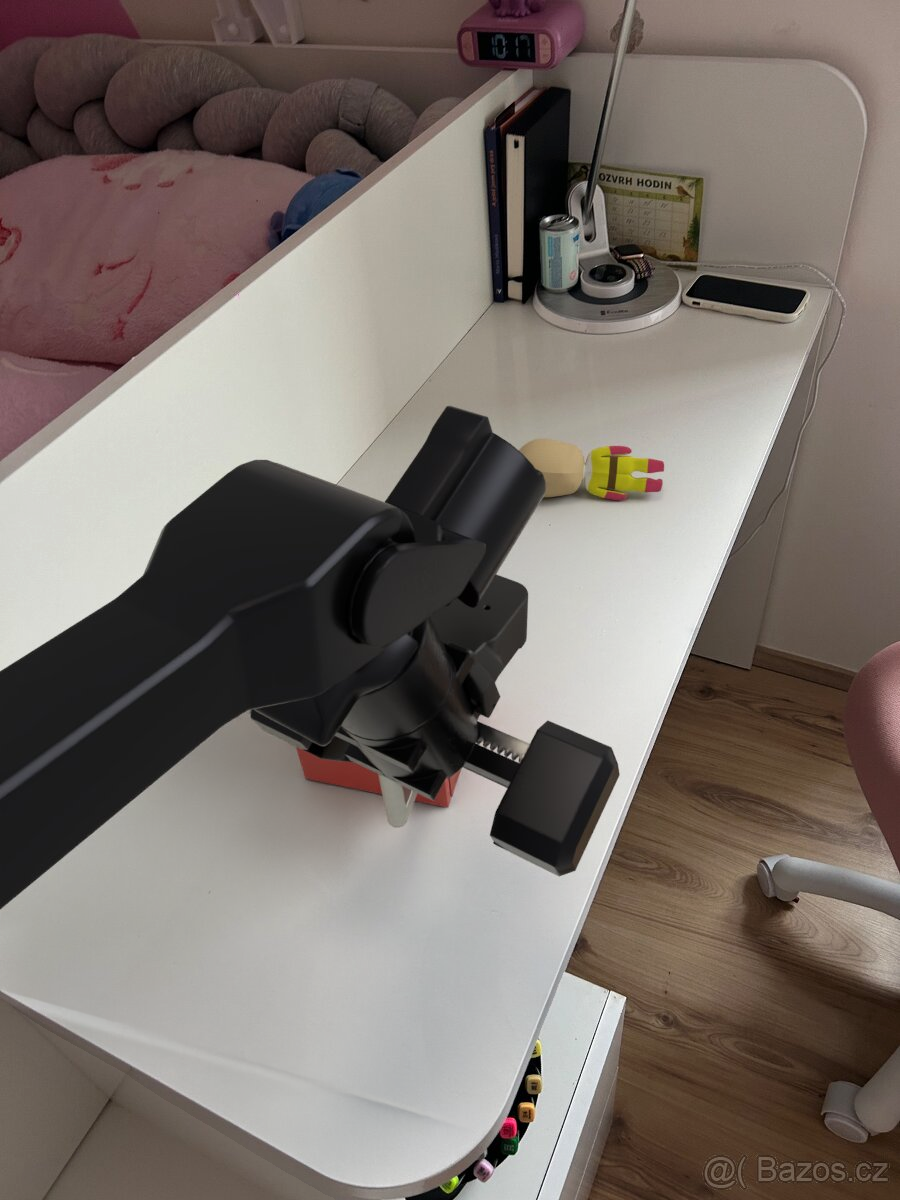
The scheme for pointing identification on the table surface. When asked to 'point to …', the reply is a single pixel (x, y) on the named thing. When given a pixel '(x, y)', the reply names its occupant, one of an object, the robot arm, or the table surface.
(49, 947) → the table surface
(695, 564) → the table surface
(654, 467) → the toy
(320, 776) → the red cabinet door
